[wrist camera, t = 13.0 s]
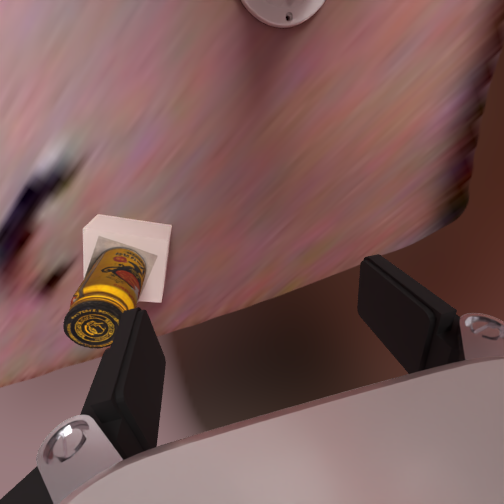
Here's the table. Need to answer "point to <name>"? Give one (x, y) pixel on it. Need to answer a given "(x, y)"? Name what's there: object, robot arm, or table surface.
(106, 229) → the cream block
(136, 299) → the condiment
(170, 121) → the table surface
